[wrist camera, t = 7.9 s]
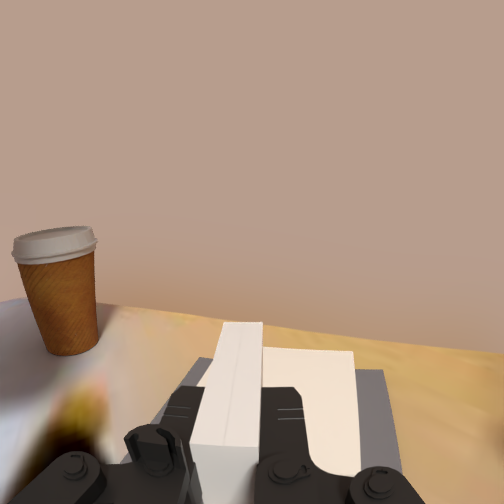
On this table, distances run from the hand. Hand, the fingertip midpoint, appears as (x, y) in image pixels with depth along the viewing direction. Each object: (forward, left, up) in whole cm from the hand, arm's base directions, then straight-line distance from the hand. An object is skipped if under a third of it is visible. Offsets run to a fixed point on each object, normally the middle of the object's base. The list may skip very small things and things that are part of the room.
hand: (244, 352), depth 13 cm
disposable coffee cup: (-22, +11, -9) cm, 27 cm away
